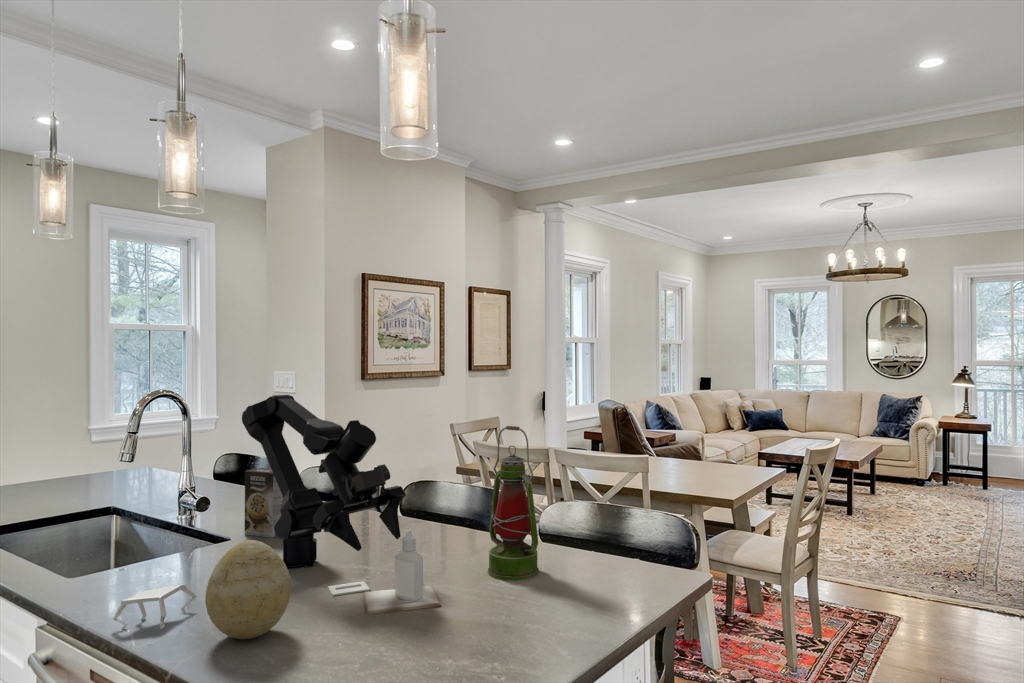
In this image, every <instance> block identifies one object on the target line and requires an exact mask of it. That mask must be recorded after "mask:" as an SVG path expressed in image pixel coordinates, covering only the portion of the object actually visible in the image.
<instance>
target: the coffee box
mask: <svg viewBox="0 0 1024 683" xmlns="http://www.w3.org/2000/svg"><path fill="white" fill-rule="evenodd" d="M282 500H283V496H282V493H281V491H280V489H279V486H278V484H277V481H276V479H275V476H274V474H273V472H272V469H271V467H269V468H268V467H259V468H252V469H247V470H245V471H244V531H243V532H244V535H247V536H248V535H249V536H256V537H262V538H263V537H264V538H274V537H276V536H275V530H274V526H275V525H276V523H277V522H278V520H279V519H280V517H281V516H282V515H281V512H280V508H281V504H282Z"/></svg>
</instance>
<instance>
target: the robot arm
mask: <svg viewBox="0 0 1024 683" xmlns="http://www.w3.org/2000/svg"><path fill="white" fill-rule="evenodd" d="M241 422H242V424H243V426H244V428H245V429H246V431H247V434H248V435H249V436H250V437H251V438H252V439H254V440H256V442H258V443H260V445H261V447H262V449H263V451H264V454H265V457H266V460H267V461H268V465H269V466H270V467H269V468H271V469H272V472H273V474H274V476H275V479H276V481H277V484H278V486H279V489H280V491H281V493H282V496H283V500H282V504H281V508H280V512H281V515H282V516H281V517H280V519H279V520H278V522H277V523H276V525H275V526H274V530H275V537H277V538H279V539H282V560H283V562H284V563H285V565H286V567H287V569H288V568H300V567H310V566H311V567H312V566H314V565H315V561H317V555H318V554H317V553H318V552H317V548H318V547H317V545H318V542H317V538H316V537H315V534H317V533H322V530H323V532H324V533H330V534H332V535H333V536H335V537H336V538H339V539H340V540H341V541H343V542H345V543H346V544H347V545H349V546H350V547H351V548H353V549H354V550H356V551H357V552H359V551H361V550H362V544H361V542H360V539H359V537H358V534H357V533H356V531H355V529H354V527H353V524H352V523H351V520H350V515H351V514H355V513H359V512H362V511H366V510H367V511H368V510H371V509H375V510H376V512H378V513H379V515H378V517H379V519H380V520H381V521H382V523H383V524H384V526H385V527H386V528H387V529H388V531H389V532H390V533H391V535H392V536H393V537H394V539H396V540H398V539H400V537H401V530H400V522H399V506H400V505H401V504H402V502H403V500H404V499H405V497H406V496H407V494H406V492H405V490H404V488H403V487H402V486H400V485H394V486H390V487H385V488H383V490H382V491H381V493H380V494H379V495H378V496H375V497H373V496H374V495H375V494H376V493H377V491H378V489H377V488H378V487H381V486H384V485H387V483H386V482H387V481H388V480H390V479H391V473H390V469H389V468H388V466H387V465H386V464H384V463H383V464H379V465H377V466H375V467H374V468H373V469H371V470H366V471H364V470H362V471H360V470H359V469H358V466H357V465H356V464H358V463H361V462H362V461H363V460H364V458H365V457H366V456H367V454H368V453H369V452H370V450H371V448H373V446H374V445H375V443H376V441H377V436H376V434H375V431H374V430H372V429H371V428H370V427H368V426H367V425H365V424H362V423H361V422H360V420H359V419H356V420H349V422H348V423H347V425H346V427H345V429H344V427H343V426H342V425H340V424H338V423H335V422H333V421H330V420H325V419H321V418H318V416H316V415H315V414H314V413H312V412H311V411H310V410H308V409H307V408H305V407H304V406H303V405H302V404H300V403H299V402H298V401H297V400H295V398H294V396H292V395H290V394H274V395H272V396H269V397H268V398H266V399H264V400H262V401H259V402H257V403H255V404H252V405H251V404H250V405H248V406H247V407H246V408H245V410H244V411H242V414H241ZM285 424H287V425H289V426H290V427H291V428H292V429H293V430H295V431H296V432H297V433H298V434H300V435H301V437H302V444H303V445H304V447H305V448H306V449H307V450H308V451H309V452H310V454H312V455H314V456H318V455H324V454H325V455H326V454H327V455H326V456H325V458H324V459H321V460H320V464H319V467H318V473H319V474H322V473H323V474H324V473H326V474H327V475H328V477H329V480H330V482H331V484H332V486H333V487H334V488H333V490H332V492H331V493H332V495H333V497H336V496H338V498H337V499H332V500H328V501H324V502H323V500H322V499H321V496H320V493H319V490H317V488H315V487H311V488H308V487H306V485H305V484H304V482H303V479H302V477H301V474H300V472H299V469H298V468H297V465H296V463H295V460H294V458H293V456H292V454H291V451H290V449H289V446H288V445H287V442H286V440H285V437H284V435H283V430H284V426H285Z"/></svg>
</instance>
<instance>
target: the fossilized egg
mask: <svg viewBox="0 0 1024 683" xmlns="http://www.w3.org/2000/svg"><path fill="white" fill-rule="evenodd" d="M291 582H292V581H291V576H290V573H289V570H288V568H287V567H286V565H285V563H284V562H283V558H282V557H281V556H280V554H278V552H276V550H275V549H274V548H272V547H271V546H270V545H268V544H267V543H266V542H265V543H264V542H263V541H259V540H256V539H255V540H253V539H250V540H244V541H242V542H239V543H237V544H235V545H234V546H232V547H231V548H230V549H229V550H227V552H225V554H223V555H222V557H220V559H219V560H218V562H217V563H216V565H215V566H214V568H213V570H212V571H211V574H210V576H209V579H208V581H207V584H206V590H205V599H204V602H205V608H206V611H207V615H208V617H209V619H210V621H211V623H212V625H214V627H215V628H216V629H217V630H218V631H219V632H221V633H222V634H224V635H225V636H227V637H230V638H234V639H238V640H248V639H249V640H250V639H254V638H257V637H260V636H262V635H264V634H266V633H267V632H268V631H270V630H271V629H272V628H274V627H275V626H276V625H277V623H279V621H280V620H281V619H282V617H283V615H284V614H285V613H286V610H287V608H288V606H289V603H290V601H291V600H290V599H291V593H292V584H291Z"/></svg>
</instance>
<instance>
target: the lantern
mask: <svg viewBox="0 0 1024 683" xmlns="http://www.w3.org/2000/svg"><path fill="white" fill-rule="evenodd" d="M505 430H508V431H516V432H517V431H520V432H521V433H522V434H523V436H524V437H525V443H526V459H525V458H524V457H520V456H518V455H516V454H517V448H516V446H515V445H509V447H508V453H509V455H507V456H505V457H503V458H501V459H500V442H501V440H500V439H501V435H502V432H504V431H505ZM510 448H514V452H513V453H512V452H511V449H510ZM529 453H530V450H529V439H528V436H527V434H526V432H525V430H523V429H522V428H520V426H515V425H514V426H513V425H506V426H505V427H503V428H502V429H500V431H499V433H498V436H497V454H496V455H497V458H496V461H495V464H494V466H493V471H494V473H495V476H494V482H493V493H492V502H491V511H490V521H489V529H488V530H489V536H490V541H491V542H493V543H494V544H495V546H493V547H492V548H490V550H489V551H488V568H487V574H488V576H489V577H491V578H493V579H495V580H501V581H508V582H515V581H526V580H530V579H533V578H535V577H537V576H539V573H540V569H539V567H538V550H537V549H538V545H539V535H538V527H537V519H536V508H535V501H534V499H535V498H534V491H533V483H532V481H531V480H532V478H533V476H534V472H533V469H532V467H531V464H530V454H529ZM499 460H500V462H501V463H500V466H499V467H500V469H499V470H498V471H497V469H496V468H497V466H498V463H499ZM525 461H526V463H527V466H528V469H529V472H530V476H529V475H528V474H527V473H526V464H525ZM501 481H502V482H503V483H502V486H501V489H500V483H501ZM523 481H524V482H525V487H524V484H523V483H524V482H523ZM497 535H498V536H499V537H500V539H501V540H500V539H499V538H497ZM528 535H529V536H530V537H531V545H530V544H529V543H527V542H525V539H526V537H527V536H528Z"/></svg>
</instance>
